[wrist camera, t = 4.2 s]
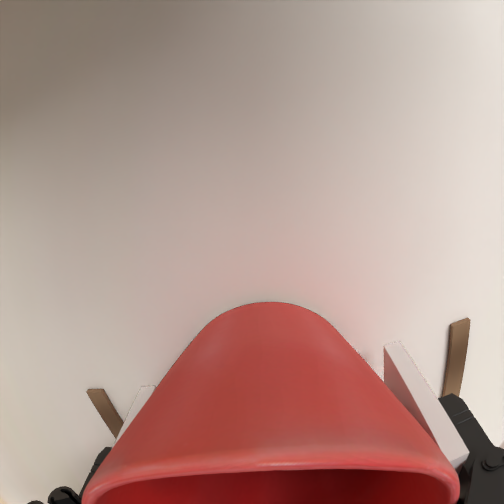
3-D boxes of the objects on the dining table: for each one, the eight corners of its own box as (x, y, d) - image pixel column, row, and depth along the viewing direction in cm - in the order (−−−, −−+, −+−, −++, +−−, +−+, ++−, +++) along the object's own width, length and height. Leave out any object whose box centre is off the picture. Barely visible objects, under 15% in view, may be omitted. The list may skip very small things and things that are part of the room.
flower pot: (405, 281, 13) (541, 427, 4) (338, 444, 16) (365, 580, 7) (167, 244, 13) (20, 397, 4) (162, 424, 16) (117, 565, 7)
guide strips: (88, 389, 16) (86, 391, 16) (467, 317, 14) (470, 320, 14) (189, 524, 21) (189, 526, 20) (431, 484, 19) (432, 486, 18)
